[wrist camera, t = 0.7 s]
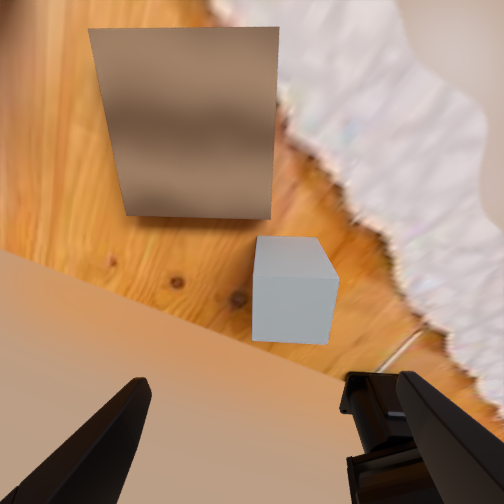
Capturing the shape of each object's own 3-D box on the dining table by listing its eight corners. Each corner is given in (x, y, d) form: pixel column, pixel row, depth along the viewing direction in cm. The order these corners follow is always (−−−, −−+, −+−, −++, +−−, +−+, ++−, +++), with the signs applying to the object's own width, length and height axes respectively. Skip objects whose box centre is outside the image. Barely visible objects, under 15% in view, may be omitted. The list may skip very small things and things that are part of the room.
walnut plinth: (270, 212, 19) (270, 219, 17) (139, 209, 20) (126, 215, 18) (277, 41, 15) (279, 26, 13) (109, 43, 15) (87, 28, 13)
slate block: (309, 287, 22) (327, 344, 15) (256, 285, 22) (252, 340, 16) (316, 237, 20) (339, 278, 13) (257, 235, 20) (253, 275, 14)
